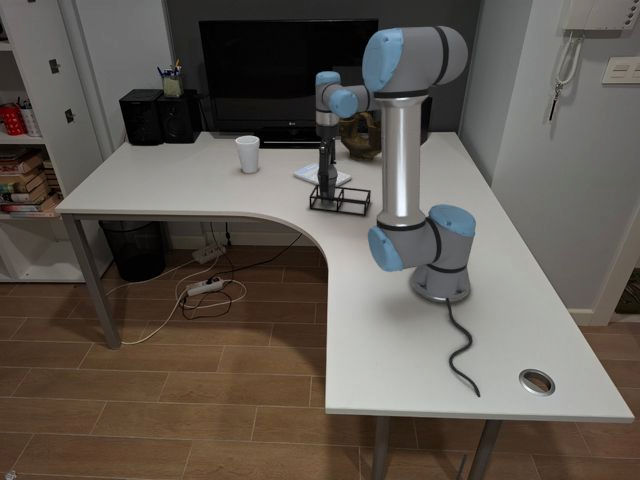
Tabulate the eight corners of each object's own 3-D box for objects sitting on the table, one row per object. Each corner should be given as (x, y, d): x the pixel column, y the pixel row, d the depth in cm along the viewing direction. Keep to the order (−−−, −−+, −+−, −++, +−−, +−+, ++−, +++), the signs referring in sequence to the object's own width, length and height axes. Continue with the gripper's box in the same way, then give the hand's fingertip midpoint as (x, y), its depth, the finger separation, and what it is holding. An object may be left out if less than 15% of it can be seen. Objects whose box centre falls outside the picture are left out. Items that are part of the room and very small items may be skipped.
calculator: (330, 190, 169) (330, 186, 168) (292, 176, 180) (292, 171, 178) (351, 179, 177) (352, 175, 176) (314, 165, 188) (314, 161, 187)
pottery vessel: (392, 160, 193) (397, 115, 182) (380, 168, 185) (384, 122, 174) (345, 147, 205) (346, 104, 194) (331, 155, 198) (332, 110, 187)
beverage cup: (313, 202, 161) (313, 149, 150) (331, 198, 164) (332, 146, 153) (322, 210, 156) (322, 157, 145) (340, 206, 158) (342, 153, 147)
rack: (365, 216, 153) (366, 203, 150) (309, 209, 157) (309, 196, 154) (370, 202, 161) (370, 190, 158) (316, 196, 165) (316, 184, 162)
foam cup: (263, 172, 182) (261, 142, 175) (241, 176, 180) (238, 145, 172) (257, 163, 190) (255, 134, 183) (236, 167, 187) (233, 137, 180)
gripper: (331, 134, 134) (331, 201, 147) (345, 114, 151) (343, 175, 163) (308, 132, 136) (309, 198, 148) (324, 112, 152) (323, 173, 165)
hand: (327, 186), depth 156 cm, fingers closed on beverage cup, 7 cm apart
